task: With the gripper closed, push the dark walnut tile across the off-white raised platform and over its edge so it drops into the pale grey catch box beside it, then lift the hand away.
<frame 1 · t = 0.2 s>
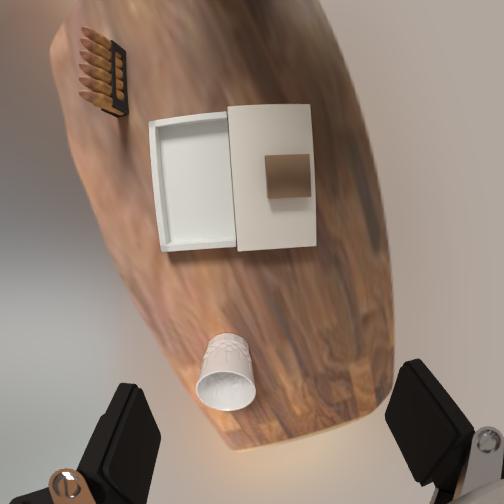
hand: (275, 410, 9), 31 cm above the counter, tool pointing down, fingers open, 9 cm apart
platform: (271, 175, 36), on the counter
white cup: (228, 349, 44), on the counter
walnut tile: (286, 175, 33), point 3 cm above the counter, touching platform
ammunition clip: (121, 83, 32), on the counter
catch box: (194, 181, 36), on the counter
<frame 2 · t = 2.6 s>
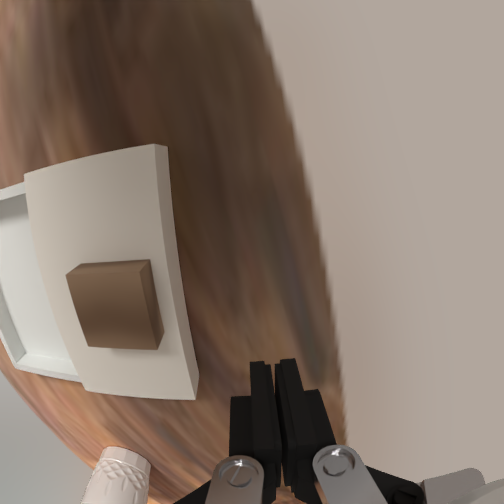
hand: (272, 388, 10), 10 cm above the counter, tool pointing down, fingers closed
platform: (118, 281, 19), on the counter
white cup: (127, 457, 27), on the counter
walnut tile: (121, 298, 17), point 3 cm above the counter, touching platform
catch box: (27, 283, 19), on the counter
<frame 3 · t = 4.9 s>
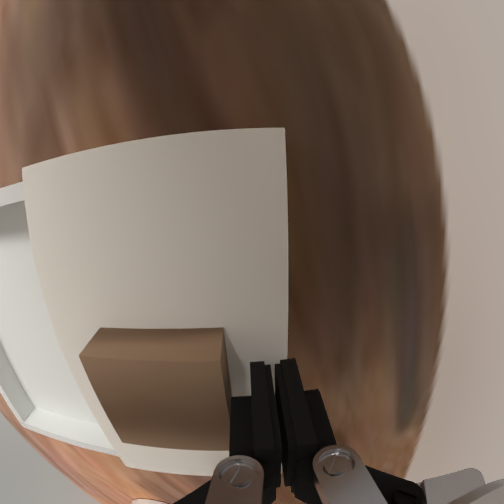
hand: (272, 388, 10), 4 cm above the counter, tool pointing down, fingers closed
platform: (177, 337, 13), on the counter
walnut tile: (170, 378, 11), point 3 cm above the counter, touching platform
catch box: (31, 328, 13), on the counter
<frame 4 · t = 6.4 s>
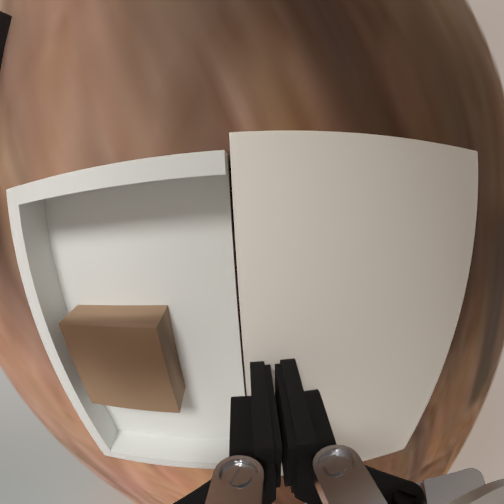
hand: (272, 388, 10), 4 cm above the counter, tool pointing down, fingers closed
platform: (343, 329, 14), on the counter
walnut tile: (117, 372, 11), point 2 cm above the counter, tilted 180°, touching catch box
catch box: (145, 339, 13), on the counter
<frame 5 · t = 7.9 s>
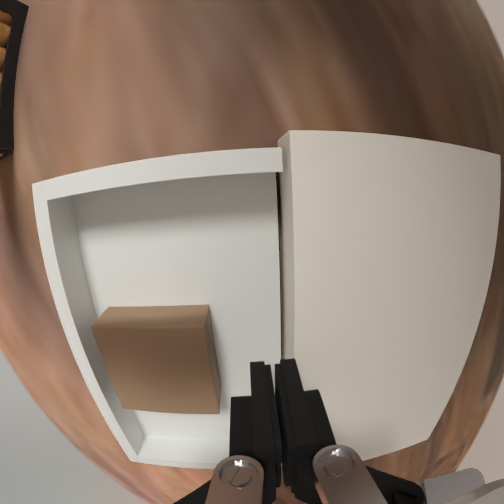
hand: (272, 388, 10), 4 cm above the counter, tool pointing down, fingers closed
platform: (376, 324, 14), on the counter
walnut tile: (156, 376, 11), point 2 cm above the counter, tilted 180°, touching catch box
ammunition clip: (8, 76, 9), on the counter
catch box: (180, 341, 13), on the counter
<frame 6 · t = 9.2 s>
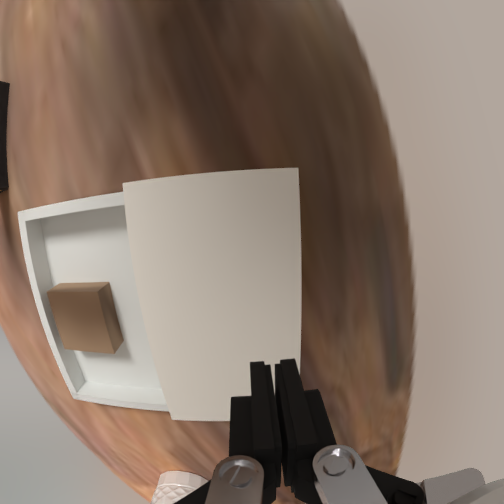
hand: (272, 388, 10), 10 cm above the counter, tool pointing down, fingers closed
platform: (223, 304, 20), on the counter
white cup: (185, 480, 26), on the counter
walnut tile: (78, 323, 18), point 2 cm above the counter, tilted 180°, touching catch box
ammunition clip: (2, 136, 16), on the counter
catch box: (99, 306, 20), on the counter
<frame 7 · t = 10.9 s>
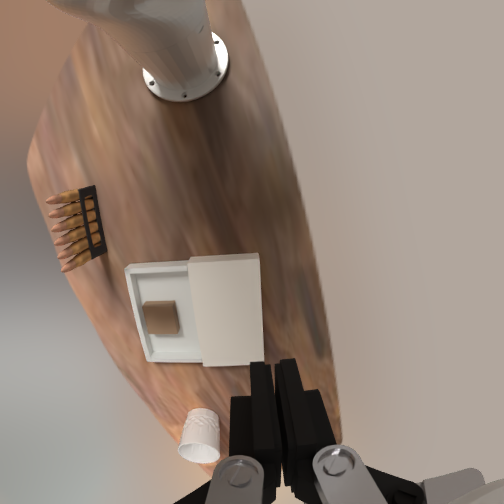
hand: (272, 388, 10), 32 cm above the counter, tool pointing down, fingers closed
platform: (229, 309, 44), on the counter
white cup: (203, 416, 52), on the counter
walnut tile: (159, 320, 42), point 2 cm above the counter, tilted 180°, touching catch box
ammunition clip: (96, 219, 40), on the counter
catch box: (167, 311, 44), on the counter
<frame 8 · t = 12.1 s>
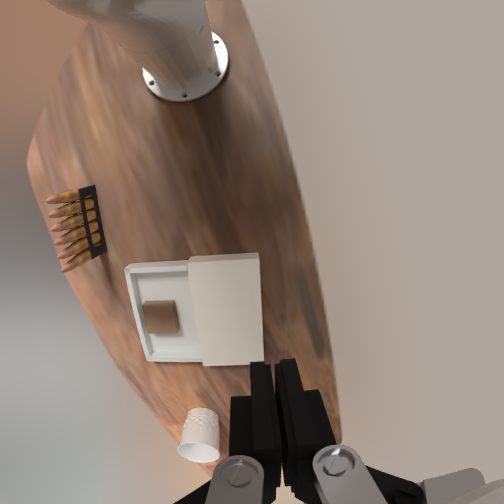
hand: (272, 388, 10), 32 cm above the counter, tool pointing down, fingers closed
platform: (228, 309, 44), on the counter
white cup: (203, 416, 52), on the counter
walnut tile: (159, 320, 42), point 2 cm above the counter, tilted 180°, touching catch box
ammunition clip: (96, 218, 40), on the counter
catch box: (167, 311, 44), on the counter
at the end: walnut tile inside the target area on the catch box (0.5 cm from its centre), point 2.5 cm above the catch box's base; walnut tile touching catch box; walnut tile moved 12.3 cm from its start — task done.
